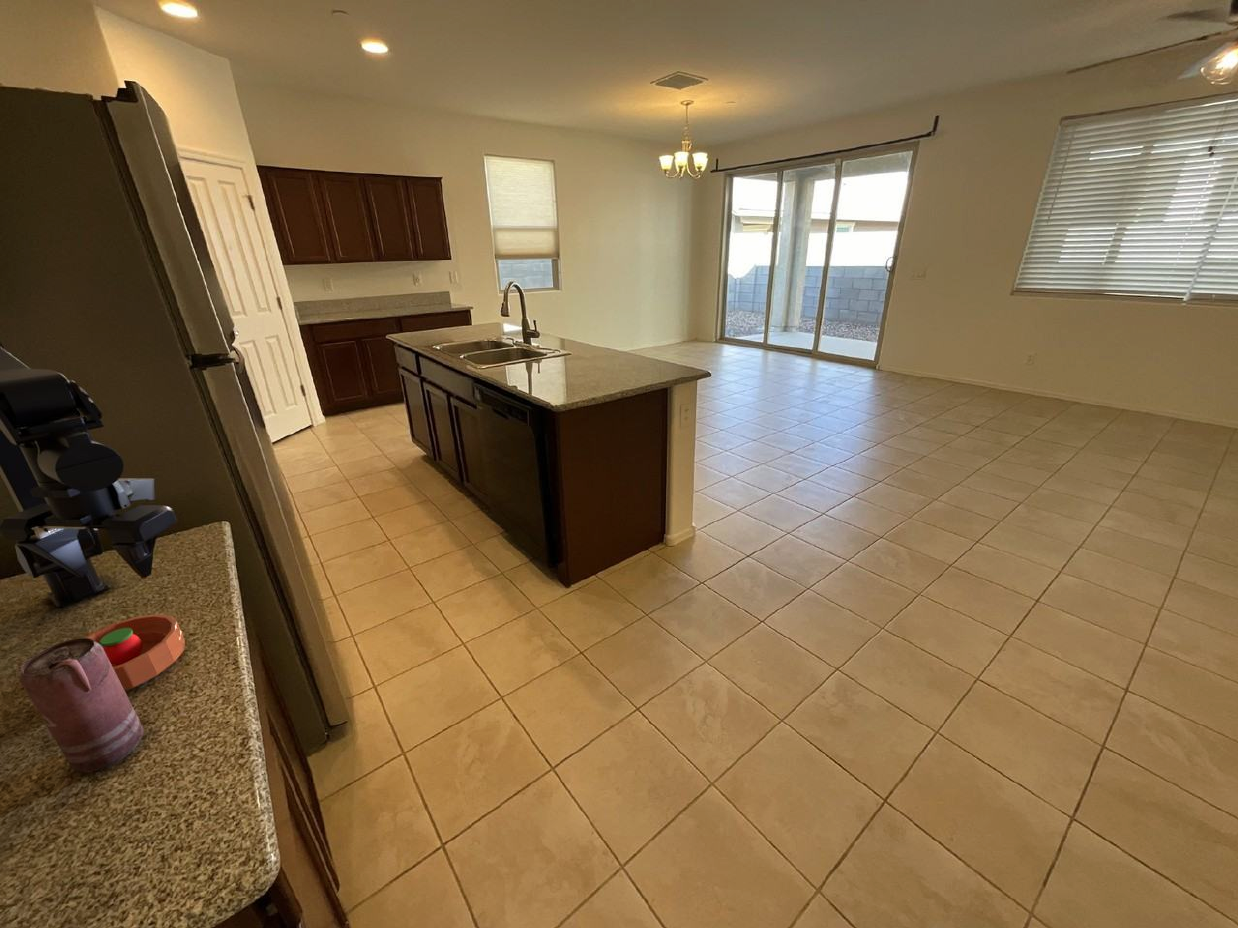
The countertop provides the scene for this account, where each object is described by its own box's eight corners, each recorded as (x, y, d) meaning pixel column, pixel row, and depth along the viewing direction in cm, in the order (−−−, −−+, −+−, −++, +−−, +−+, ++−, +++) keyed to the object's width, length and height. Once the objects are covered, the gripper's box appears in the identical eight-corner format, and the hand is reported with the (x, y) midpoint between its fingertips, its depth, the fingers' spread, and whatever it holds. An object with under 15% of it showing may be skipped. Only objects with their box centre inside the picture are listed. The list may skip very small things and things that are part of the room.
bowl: (55, 678, 68) (41, 654, 67) (166, 626, 78) (156, 604, 76) (85, 717, 62) (70, 691, 61) (201, 656, 72) (191, 632, 70)
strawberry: (105, 667, 69) (91, 639, 68) (142, 649, 72) (129, 622, 71) (115, 678, 67) (101, 650, 66) (153, 659, 70) (140, 632, 69)
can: (103, 779, 55) (46, 681, 49) (58, 769, 56) (-2, 672, 51) (160, 732, 60) (115, 638, 55) (118, 723, 61) (70, 631, 56)
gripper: (190, 452, 72) (223, 546, 78) (65, 450, 72) (107, 544, 78) (115, 484, 61) (159, 590, 67) (-30, 482, 62) (26, 587, 68)
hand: (115, 575), depth 70 cm, fingers open, 9 cm apart
